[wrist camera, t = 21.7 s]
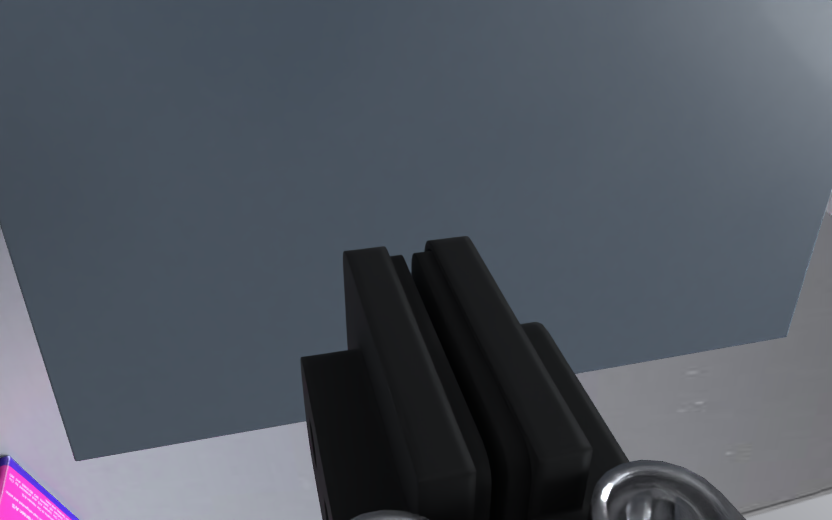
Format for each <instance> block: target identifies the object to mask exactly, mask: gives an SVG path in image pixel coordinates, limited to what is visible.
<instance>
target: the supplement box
mask: <svg viewBox="0 0 832 520" xmlns="http://www.w3.org/2000/svg"><path fill="white" fill-rule="evenodd" d="M0 520H79V519H78V518H77V517H75V516H74V515H73V514H72V513H71V512H70V511H69V510H68V509H67V508H65V507H64V506H63V505H62V504H61V503H60V502H59V501H58V500H57V499H55V498H54V497H53V496H52V495H51V494H50V493H49V492H48V491H47V490H45V489H44V488H43V487H42V486H41V485H40V484H39V483H38V482H37V481H36V480H34V479H33V478H32V477H31V476H30V475H29V474H28V473H27V472H26V471H25V470H24V469H23V468H22V467H21V466H20V465H19V464H18V463H17V462H16V461H15V460H13V459H12V458H11V457H10V456H5V457H2V458H0Z"/></svg>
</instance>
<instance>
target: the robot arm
mask: <svg viewBox="0 0 832 520" xmlns="http://www.w3.org/2000/svg"><path fill="white" fill-rule="evenodd" d="M343 274H344V292H345V310H346V328H347V346H348V350H345V351H338V352H332V353H325V354H318V355H312V356H305V357H301V358H300V362H301V376H302V386H303V396H304V406H305V414H306V422H307V430H308V437H309V444H310V451H311V457H312V463H313V469H314V474H315V480H316V485H317V491H318V497H319V502H320V508H321V513H322V519H323V520H746V519H745V518H744V517H743V516H742V515H741V514H740V512H739V511H738V510H737V509H736V508H735V507H734V506H733V505H732V504H731V503H730V502H729V501H728V500H727V498H726V497H725V496H724V495H723V494H722V493H721V492H720V491H719V490H717V489H716V488H715V487H714V486H713V485H712V484H710V483H709V482H708V481H707V480H706V479H704V478H703V477H701V476H699V475H697V474H695V473H693V472H692V471H690V470H688V469H686V468H684V467H681V466H677V465H674V464H670V463H667V462H663V461H651V460H638V461H632V462H629V460H628V459H627V457H626V455H625V454H624V452H623V451H622V449H621V447H620V446H619V444H618V443H617V441H616V439H615V438H614V436H613V435H612V433H611V431H610V430H609V428H608V426H607V425H606V423H605V422H604V420H603V418H602V417H601V415H600V414H599V412H598V410H597V409H596V407H595V406H594V404H593V402H592V401H591V399H590V398H589V396H588V394H587V393H586V391H585V390H584V388H583V386H582V385H581V383H580V382H579V380H578V378H577V377H576V375H575V373H574V372H573V370H572V369H571V367H570V365H569V364H568V362H567V361H566V359H565V357H564V356H563V354H562V353H561V351H560V349H559V348H558V346H557V345H556V343H555V341H554V340H553V338H552V337H551V335H550V333H549V332H548V330H547V329H546V328H545V327H544V325H543V324H541V323H539V322H530V323H524V324H520V323H519V321H518V319H517V318H516V316H515V314H514V313H513V311H512V309H511V307H510V306H509V304H508V302H507V301H506V299H505V297H504V295H503V294H502V292H501V290H500V288H499V287H498V285H497V283H496V282H495V280H494V278H493V276H492V275H491V273H490V271H489V270H488V268H487V266H486V264H485V263H484V261H483V259H482V258H481V256H480V254H479V252H478V251H477V249H476V247H475V246H474V244H473V242H472V240H471V239H470V238H469V237H468V236H460V237H452V238H444V239H436V240H428V241H427V242H426V244H425V249H424V252H419V253H413V255H412V262H411V273H410V271H409V269H408V266H407V264H406V262H405V259H404V257H403V255H395V256H390V255H389V253H388V250H387V249H386V247H385V246H380V247H372V248H364V249H356V250H348V251H344V252H343Z"/></svg>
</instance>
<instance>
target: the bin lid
mask: <svg viewBox="0 0 832 520" xmlns="http://www.w3.org/2000/svg"><path fill="white" fill-rule="evenodd" d="M831 191H832V0H0V226H1V229H2V232H3V235H4V239H5V242H6V245H7V248H8V251H9V254H10V257H11V261H12V264H13V267H14V270H15V273H16V276H17V279H18V283H19V286H20V289H21V292H22V295H23V298H24V301H25V305H26V308H27V311H28V314H29V317H30V320H31V323H32V327H33V330H34V333H35V336H36V339H37V342H38V346H39V349H40V352H41V355H42V358H43V361H44V364H45V368H46V371H47V374H48V377H49V380H50V383H51V386H52V390H53V393H54V396H55V399H56V402H57V405H58V408H59V412H60V415H61V418H62V421H63V424H64V427H65V430H66V434H67V437H68V440H69V443H70V446H71V449H72V452H73V456H74V459H75V461H81V460H87V459H92V458H98V457H104V456H110V455H115V454H121V453H127V452H132V451H138V450H144V449H150V448H155V447H161V446H167V445H172V444H178V443H184V442H189V441H195V440H201V439H207V438H212V437H218V436H224V435H229V434H235V433H241V432H247V431H252V430H258V429H264V428H269V427H275V426H281V425H287V424H292V423H298V422H304V421H306V414H305V406H304V396H303V386H302V376H301V362H300V358H301V357H305V356H312V355H318V354H325V353H332V352H338V351H345V350H348V346H347V328H346V310H345V292H344V274H343V252H344V251H348V250H356V249H364V248H372V247H380V246H385V247H386V249H387V250H388V253H389V255H390V256H395V255H403V257H404V259H405V262H406V264H407V266H408V269H409V271H410V273H411V262H412V255H413V253H419V252H424V249H425V244H426V242H427V241H428V240H436V239H444V238H452V237H460V236H468V237H469V238H470V239H471V240H472V242H473V244H474V246H475V247H476V249H477V251H478V252H479V254H480V256H481V258H482V259H483V261H484V263H485V264H486V266H487V268H488V270H489V271H490V273H491V275H492V276H493V278H494V280H495V282H496V283H497V285H498V287H499V288H500V290H501V292H502V294H503V295H504V297H505V299H506V301H507V302H508V304H509V306H510V307H511V309H512V311H513V313H514V314H515V316H516V318H517V319H518V321H519V323H520V324H524V323H530V322H539V323H541V324H543V325H544V327H545V328H546V329H547V330H548V332H549V333H550V335H551V337H552V338H553V340H554V341H555V343H556V345H557V346H558V348H559V349H560V351H561V353H562V354H563V356H564V357H565V359H566V361H567V362H568V364H569V365H570V367H571V369H572V370H573V372H574V373H575V374H578V373H583V372H589V371H595V370H600V369H606V368H612V367H618V366H623V365H629V364H635V363H640V362H646V361H652V360H658V359H663V358H669V357H675V356H680V355H686V354H692V353H697V352H703V351H709V350H715V349H720V348H726V347H732V346H737V345H743V344H749V343H755V342H760V341H766V340H772V339H777V338H783V337H786V336H787V334H788V330H789V327H790V324H791V321H792V317H793V314H794V311H795V308H796V305H797V301H798V298H799V295H800V292H801V288H802V285H803V282H804V279H805V275H806V272H807V269H808V266H809V262H810V259H811V256H812V253H813V250H814V246H815V243H816V240H817V237H818V233H819V230H820V227H821V224H822V220H823V217H824V214H825V211H826V207H827V204H828V201H829V198H830V195H831Z"/></svg>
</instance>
